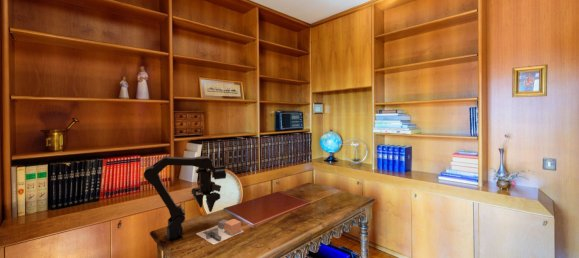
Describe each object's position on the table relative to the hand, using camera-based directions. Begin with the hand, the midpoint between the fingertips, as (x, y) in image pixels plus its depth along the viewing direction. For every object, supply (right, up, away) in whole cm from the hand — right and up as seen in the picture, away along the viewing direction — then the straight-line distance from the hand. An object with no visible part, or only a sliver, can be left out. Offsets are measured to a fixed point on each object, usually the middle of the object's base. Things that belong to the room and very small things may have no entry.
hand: (205, 209), depth 136 cm
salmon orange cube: (+15, -11, -1) cm, 18 cm away
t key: (+8, -11, -9) cm, 16 cm away
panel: (+8, -12, -2) cm, 15 cm away
